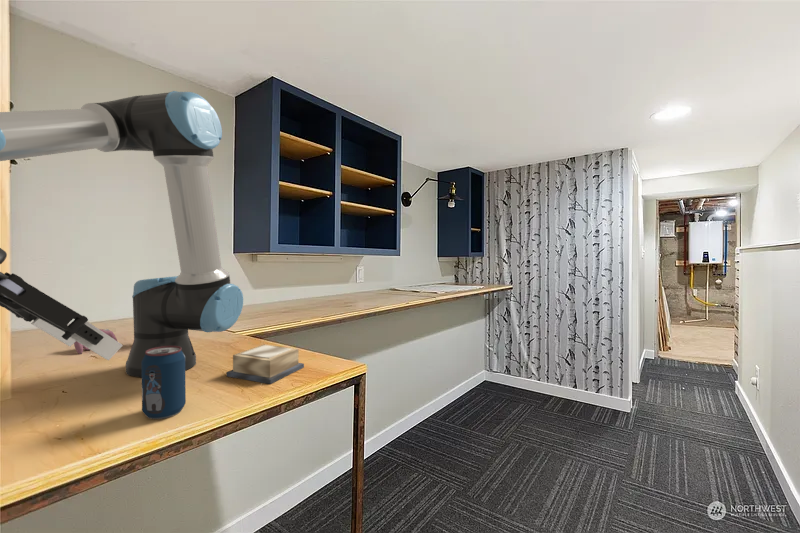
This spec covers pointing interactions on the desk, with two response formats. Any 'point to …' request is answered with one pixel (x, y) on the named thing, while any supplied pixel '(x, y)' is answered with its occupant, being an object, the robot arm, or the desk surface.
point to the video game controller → (80, 347)
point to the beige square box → (265, 364)
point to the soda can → (163, 382)
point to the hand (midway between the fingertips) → (94, 345)
